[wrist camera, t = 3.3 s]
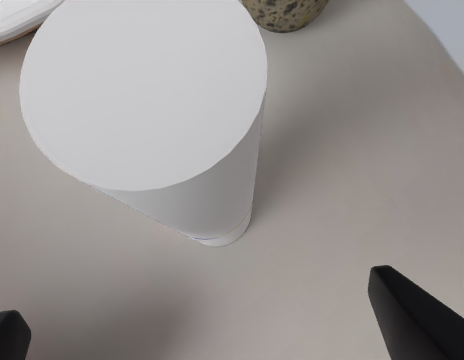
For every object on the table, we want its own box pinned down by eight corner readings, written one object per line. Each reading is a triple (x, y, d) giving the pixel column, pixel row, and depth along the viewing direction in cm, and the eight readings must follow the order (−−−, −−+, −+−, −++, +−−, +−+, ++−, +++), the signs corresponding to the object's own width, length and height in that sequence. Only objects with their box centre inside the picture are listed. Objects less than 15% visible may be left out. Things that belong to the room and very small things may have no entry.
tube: (235, 166, 21) (212, -62, 6) (262, 229, 20) (310, 129, 5) (171, 192, 21) (-5, 16, 6) (195, 258, 20) (54, 234, 5)
